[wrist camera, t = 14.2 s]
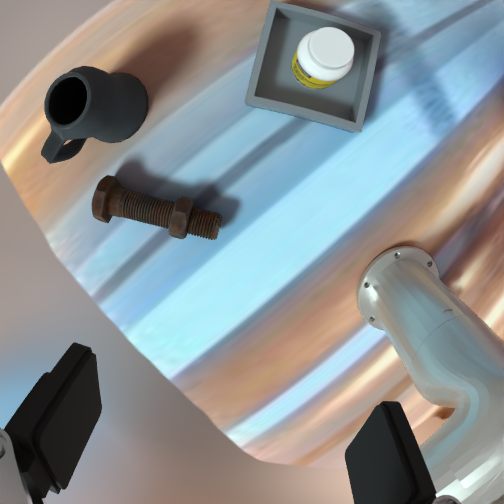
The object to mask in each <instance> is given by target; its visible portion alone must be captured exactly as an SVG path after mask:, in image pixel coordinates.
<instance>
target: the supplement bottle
mask: <svg viewBox="0 0 504 504" xmlns="http://www.w3.org/2000/svg"><path fill="white" fill-rule="evenodd" d="M353 56H354V44H353V42H352V40H351V38H350V37H349V36H348V35H347V34H346V33H345V32H343V31H342V30H340V29H337V28H334V27H324V28H320V29H318V30H315V31H312V32H310V33H308V34H307V35H305V36H304V37H303V39H302V40H301V41H300V43H299V45H298V47H297V50H296V52H295V54H294V56H293V59H292V62H291V70H292V74H293V76H294V78H295V79H296V80H297V82H298V83H300V84H301V85H302V86H304V87H306V88H308V89H312V90H321V89H325V88H327V87H329V86H331V85H332V84H334V83H335V82H336V81H338V80H339V79H341V78H342V77H344V76H345V75H346V74H347V73H348V72H349V70H350V69H351V67H352V64H353Z"/></svg>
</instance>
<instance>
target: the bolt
mask: <svg viewBox="0 0 504 504" xmlns="http://www.w3.org/2000/svg"><path fill="white" fill-rule="evenodd" d="M120 187H121V185H120V183H119V182H118V180H117V178H116V177H114V176H109V175H107V176H105V177H104V178H103V179H101V180H100V182H99V183H98V185H97V188H96V190H95V193H94V196H93V199H92V213H93V217H94V218H96V219H97V220H99V221H102V222H105V223H109V221H110V219H111V218H112V216H117V217H124V218H129V219H132V220H137V221H140V222H143V223H147V224H149V223H150V224H152V225H155V226H157V225H158V226H161V227H164V228H165V227H166V228H169V234H170V235H171V236H172V237H175V238H179V239H184V238H186V236H187V233H188V234H190V233H191V235H193V234H194V236H195V235H197V237H198V236H200V237H203V238H204V237H205V238H208V239H210V238H211V240H213V239H214V240H215V239H217V236H218V232H219V228H220V224H221V220H222V216H221V215H220V214H219V215H218V214H217V213H216V214H215V212H214V213H212V212H209V211H208V212H207V211H206V210H205V211H204V210H201V209H199V210H198V208H197V209H195V207H194V204H195V203H194V201H193V200H192V199H190V198H186V197H180V198H178V199H177V201H176V202H175V203H173V201H172V202H170V201H169V202H168V201H167V200H166V201H165V200H162V199H159V198H158V199H157V198H154V197H152V196H150V197H149V196H146V195H144V194H142V195H141V194H139V193H136V192H131V191H128V190H127V189H122V188H120Z"/></svg>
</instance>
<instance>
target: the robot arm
mask: <svg viewBox="0 0 504 504" xmlns="http://www.w3.org/2000/svg"><path fill="white" fill-rule="evenodd" d="M395 253H396V254H395ZM357 302H358V307H359V310H360V312H361V314H362V316H363V317H364V319H365V320H366V321H367V322H368V323H369V324H370V325H372V326H373V327H375V328H377V329H380V330H384V331H385V333H386V334H387V336H388V338H389V340H390V341H391V343H392V345H393V347H394V348H395V350H396V352H397V354H398V356H399V357H400V359H401V361H402V363H403V365H404V366H405V368H406V370H407V372H408V374H409V376H410V378H411V379H412V381H413V383H414V385H415V387H416V388H417V390H418V392H419V393H420V394H421V395H422V396H423V398H425V399H426V400H427V401H429V402H431V403H433V404H435V405H439V406H443V407H450V408H456V409H455V411H454V413H453V414H452V415H451V416H450V418H449V419H448V420H447V421H446V422H445V423H444V424H443V425H442V426H441V428H439V429H438V430H437V431H436V432H435V433H434V434H433V435H432V436H431V437H430V438H429V439H427V440H426V441H425V442H424V443H423V444H422V445H420V446H418V444H417V441H416V439H415V436H414V434H413V432H412V429H411V427H410V425H409V422H408V420H407V418H406V415H405V413H404V411H403V409H402V406H401V404H400V403H399V402H396V401H383V402H381V403H380V405H377V406H376V407H375V408H374V410H373V412H372V413H371V415H370V416H369V418H368V419H367V421H366V422H365V424H364V425H363V427H362V428H361V429H360V431H359V432H358V434H357V435H356V437H355V438H354V439H353V441H352V442H351V444H350V445H349V446H348V448H347V449H346V452H345V460H346V465H347V470H348V475H349V479H350V484H351V489H352V494H353V499H354V504H504V341H503V340H502V339H501V338H500V337H499V336H498V335H497V334H496V333H495V332H494V331H493V330H492V329H491V328H490V327H489V326H488V325H487V324H486V323H485V322H484V321H483V320H482V319H481V318H479V317H478V316H477V315H476V314H475V313H474V312H473V311H472V310H471V309H470V308H469V307H468V306H467V305H466V304H465V303H464V302H463V301H462V300H461V299H460V298H459V297H458V296H457V295H456V294H455V293H454V292H452V291H451V290H450V289H449V288H448V287H447V286H446V285H445V284H444V283H443V282H442V281H441V280H440V279H439V271H438V267H437V265H436V263H435V261H434V260H433V259H432V258H431V256H430V255H428V254H427V253H426V252H425V251H423V250H421V249H419V248H416V247H413V246H400V247H395V248H392V249H389V250H387V251H385V252H384V253H382V254H380V255H379V256H378V257H377V258H375V259H374V260H373V261H372V262H371V263H370V265H369V266H368V267H367V268H366V270H365V272H364V273H363V275H362V277H361V279H360V282H359V285H358V290H357ZM101 410H102V404H101V397H100V389H99V382H98V372H97V361H96V355H95V354H94V353H92V350H91V348H90V347H87V346H84V345H81V344H78V343H73V344H72V345H71V346H70V347H69V349H68V350H67V351H66V353H65V354H64V355H63V356H62V358H61V359H60V360H59V362H58V363H57V364H56V366H55V367H54V368H53V370H52V371H51V372H50V373H49V372H47V373H44V374H43V376H41V378H40V379H39V380H38V382H37V383H36V384H35V386H34V387H33V389H32V390H31V391H30V393H29V394H28V395H27V397H26V398H25V399H24V401H23V402H22V404H21V405H20V407H19V408H18V409H17V411H16V412H15V414H14V415H13V416H12V418H11V419H10V421H9V422H8V424H7V425H6V427H5V429H4V430H3V429H1V428H0V504H46V502H45V499H44V498H45V497H46V495H47V493H48V491H49V490H50V491H52V492H54V493H56V494H59V492H60V490H61V489H66V488H67V486H68V484H69V482H70V479H71V477H72V475H73V472H74V470H75V468H76V466H77V463H78V461H79V459H80V457H81V455H82V452H83V450H84V448H85V446H86V444H87V442H88V440H89V438H90V436H91V433H92V431H93V429H94V427H95V425H96V423H97V421H98V419H99V417H100V414H101Z"/></svg>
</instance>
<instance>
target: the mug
mask: <svg viewBox="0 0 504 504" xmlns="http://www.w3.org/2000/svg"><path fill="white" fill-rule="evenodd" d="M44 111H45V115H46V118H47V120H48V121H49V123H50V125H51V130H52V131H51V133H50V135H49V137H48V138H47V140H46V142H45V144H44V146H43V148H42V151H41V155H42V156H43V157H44V158H45V159H46V160H47V162H49V163H56V162H61V161H65V160H68V159H70V158H72V157H74V156H75V155H76V154H78V153H79V151H80V150H81V149H82V147H83V145H84V143H85V141H86V139H87V138H90V137H94V138H96V139H98V140H100V141H103V142H108V143H116V142H122V141H124V140H126V139H128V138H130V137H131V136H132V135H133V134H134V133H136V132H137V131H138V130H139V128H140V127H141V125H142V124H143V122H144V120H145V118H146V114H147V111H148V95H147V92H146V89H145V86H144V85H143V84H142V83H141V81H140V80H139V79H138V78H136V77H134V76H132V75H131V74H126V73H112V74H108V73H107V72H105V71H103V70H100V69H97V68H94V67H89V66H81V67H78V68H74V69H72V70H71V71H69V72H68V73H65V74H63V75H62V76H60V77H59V78H57V79H56V80H55V81H54V82H53V84H52V85H51V86H50V88H49V90H48V92H47V94H46V98H45V102H44ZM71 139H73V140H72V141H70V142H69V143H68V144H65V145H64V143H65V142H66V141H67V140H71ZM63 145H64V146H63Z"/></svg>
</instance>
